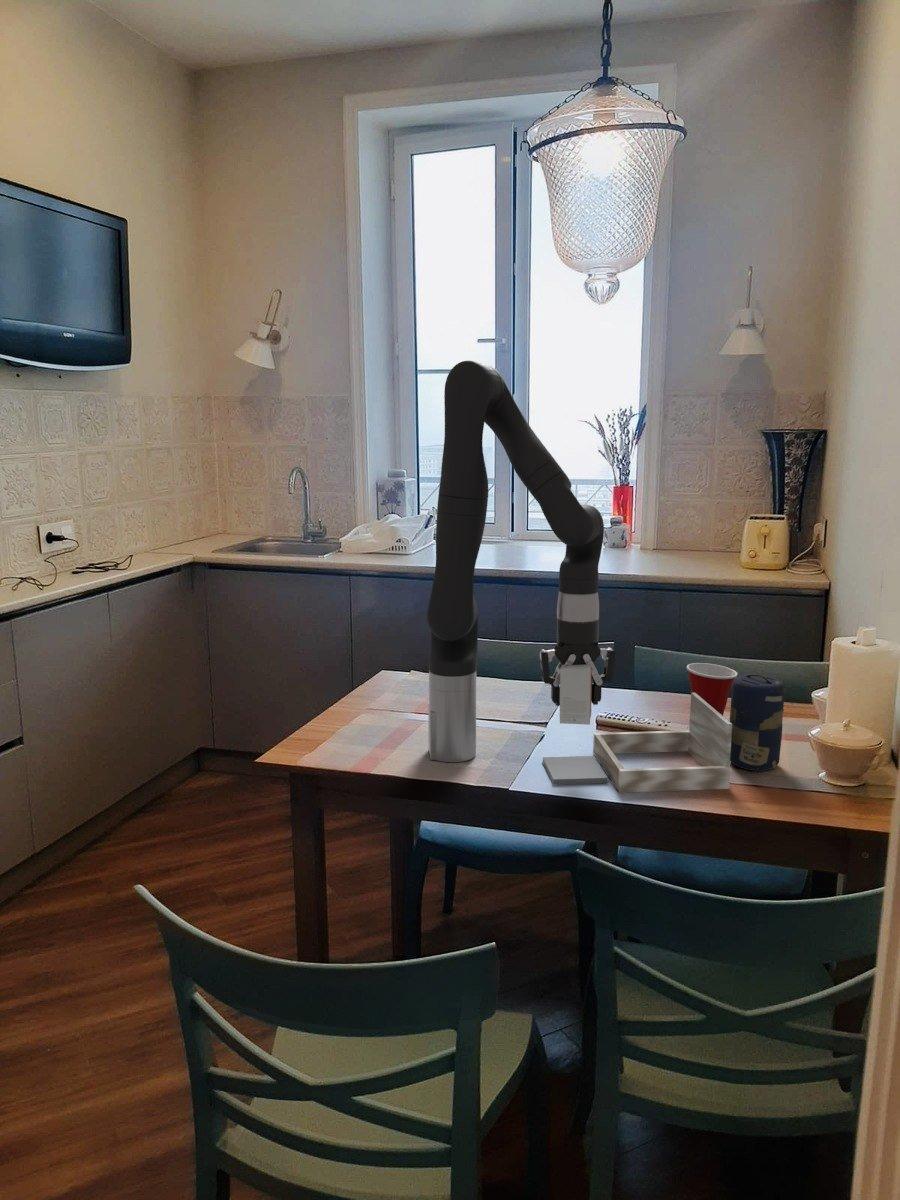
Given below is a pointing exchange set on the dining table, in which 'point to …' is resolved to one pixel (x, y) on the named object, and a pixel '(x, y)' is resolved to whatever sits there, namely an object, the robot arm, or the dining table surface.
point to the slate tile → (574, 770)
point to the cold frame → (701, 740)
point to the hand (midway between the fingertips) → (576, 703)
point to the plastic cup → (711, 683)
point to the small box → (575, 694)
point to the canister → (756, 721)
